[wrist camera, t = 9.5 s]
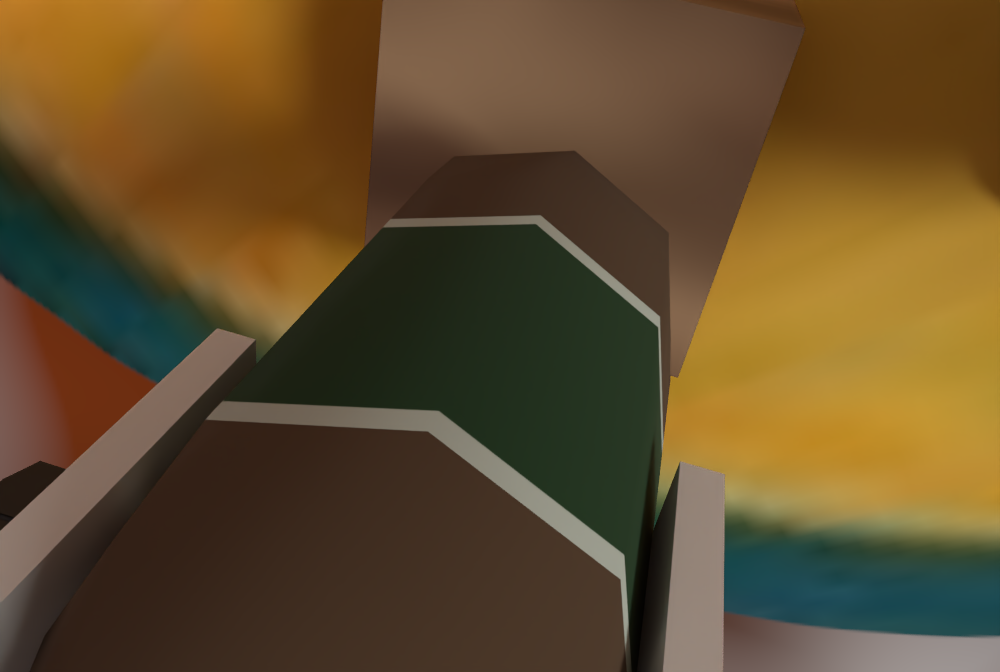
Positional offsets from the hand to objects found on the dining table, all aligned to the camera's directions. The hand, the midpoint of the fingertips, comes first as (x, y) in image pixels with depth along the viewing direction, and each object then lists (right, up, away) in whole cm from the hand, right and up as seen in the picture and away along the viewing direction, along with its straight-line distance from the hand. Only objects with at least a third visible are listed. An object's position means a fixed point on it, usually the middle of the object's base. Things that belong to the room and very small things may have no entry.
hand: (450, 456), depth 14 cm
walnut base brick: (+4, +9, +13) cm, 16 cm away
